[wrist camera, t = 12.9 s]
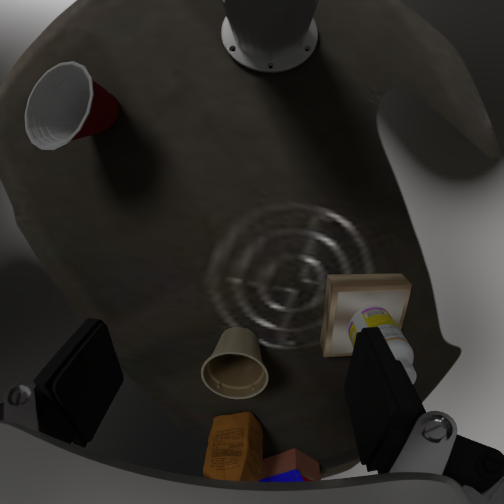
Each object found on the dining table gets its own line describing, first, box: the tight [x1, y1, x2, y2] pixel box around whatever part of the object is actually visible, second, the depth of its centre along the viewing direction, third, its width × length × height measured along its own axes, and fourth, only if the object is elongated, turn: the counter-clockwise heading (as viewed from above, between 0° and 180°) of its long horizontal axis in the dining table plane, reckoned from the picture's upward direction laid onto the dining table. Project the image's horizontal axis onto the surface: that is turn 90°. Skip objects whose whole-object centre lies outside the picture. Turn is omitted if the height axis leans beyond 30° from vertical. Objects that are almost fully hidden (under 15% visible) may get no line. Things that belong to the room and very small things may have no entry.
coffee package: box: [203, 411, 263, 482], centre depth 44 cm, size 10×12×22 cm
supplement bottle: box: [348, 306, 417, 384], centre depth 33 cm, size 7×7×13 cm
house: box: [259, 448, 321, 482], centre depth 55 cm, size 12×20×12 cm, turn 129°
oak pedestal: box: [320, 274, 412, 357], centre depth 41 cm, size 12×12×4 cm
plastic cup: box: [25, 61, 119, 150], centre depth 29 cm, size 11×11×12 cm
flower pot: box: [201, 327, 269, 399], centre depth 42 cm, size 9×9×9 cm
